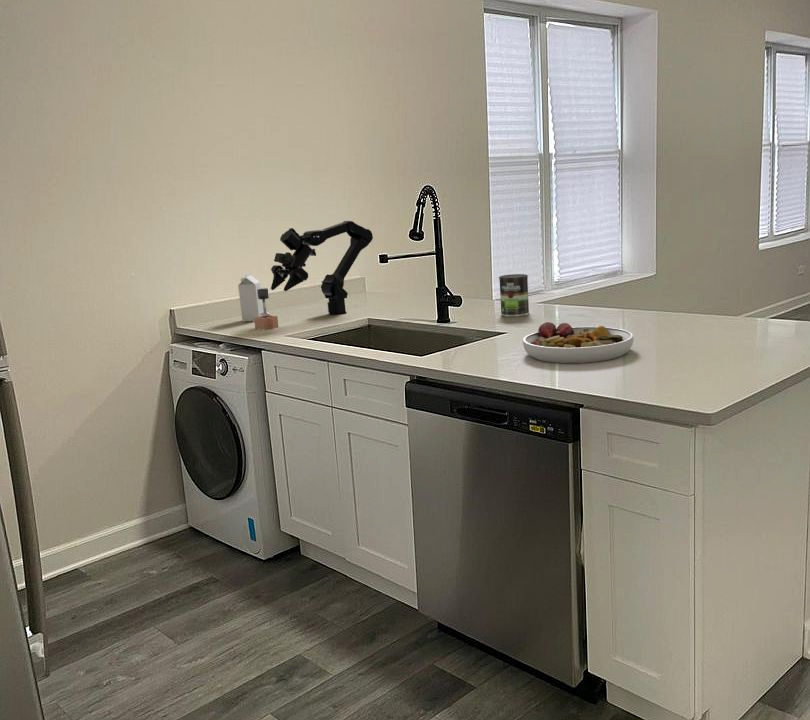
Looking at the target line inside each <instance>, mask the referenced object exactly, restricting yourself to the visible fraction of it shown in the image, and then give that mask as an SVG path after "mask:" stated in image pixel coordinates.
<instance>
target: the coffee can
mask: <svg viewBox="0 0 810 720" xmlns="http://www.w3.org/2000/svg"><path fill="white" fill-rule="evenodd" d="M528 278H529V274H525V273H524V274H523V273H520V274H519V273H516V274H515V273H514V274H504V275H499V277H498V280H499V294H500V298H499V299H500V315H501V316H502V317H507V318H512V317H513V318H515V317H516V318H517V317H524V315H525V316H529V315H530V308H529V307H530V306H529V300H530V299H529V281H528Z"/></svg>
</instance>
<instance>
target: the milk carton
mask: <svg viewBox="0 0 810 720" xmlns="http://www.w3.org/2000/svg"><path fill="white" fill-rule="evenodd" d="M237 289H238V296H239V303H240V304H239V305H240V311H241V321H242V323H243V322H246V321H247V322H254V317H259V316H262V315H260V313H264V310H263V301H262V299H258V293H257V289H262V287H261V282H260V281H259V280H258V279H257V278H255V277H254V276H253V275H252V274H251V272H249V273H246V274H245V276H243V277H241V278H240V283H239V284H238V288H237ZM263 316H265V315H263Z"/></svg>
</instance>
